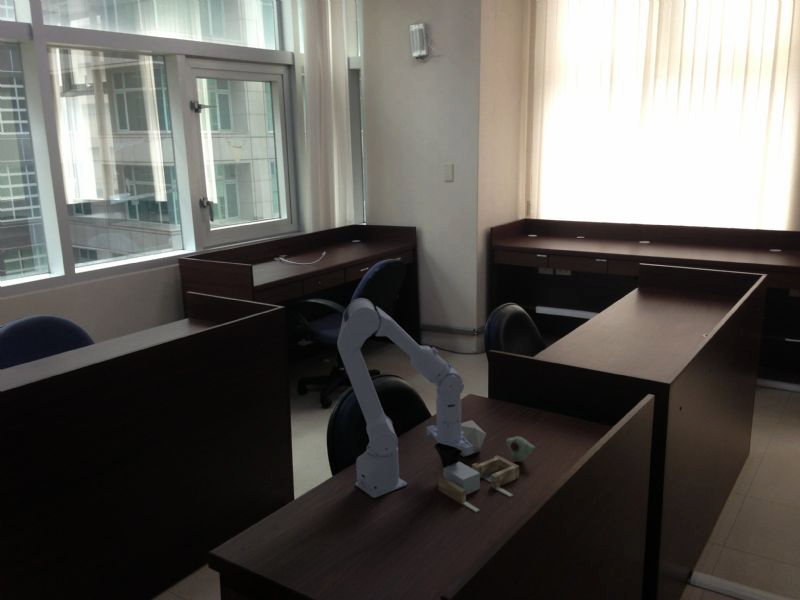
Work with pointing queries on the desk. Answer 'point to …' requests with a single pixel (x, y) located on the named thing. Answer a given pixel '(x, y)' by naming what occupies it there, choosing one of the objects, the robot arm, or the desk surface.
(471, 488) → the grey block
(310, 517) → the desk surface
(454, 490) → the channel
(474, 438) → the die
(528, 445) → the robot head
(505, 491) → the rails
